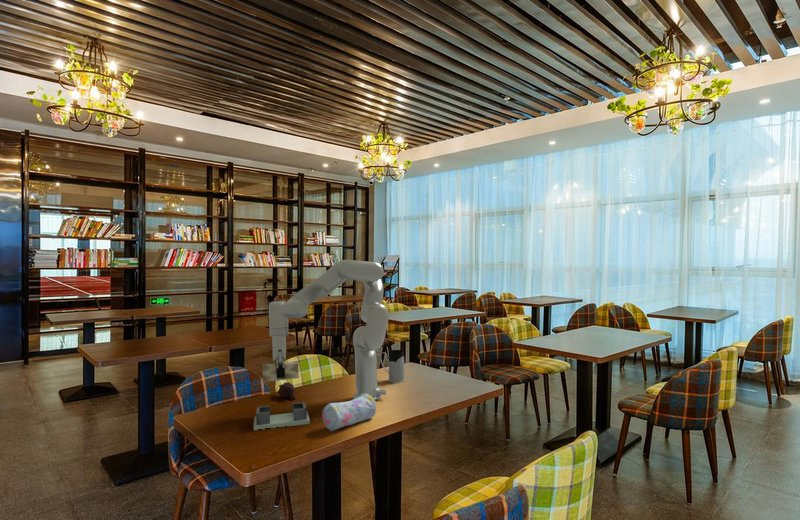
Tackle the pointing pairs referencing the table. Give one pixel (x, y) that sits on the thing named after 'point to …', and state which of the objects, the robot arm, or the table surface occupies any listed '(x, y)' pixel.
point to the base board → (281, 421)
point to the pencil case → (349, 412)
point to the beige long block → (271, 371)
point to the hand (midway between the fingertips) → (280, 375)
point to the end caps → (264, 413)
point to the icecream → (287, 390)
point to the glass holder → (395, 366)
